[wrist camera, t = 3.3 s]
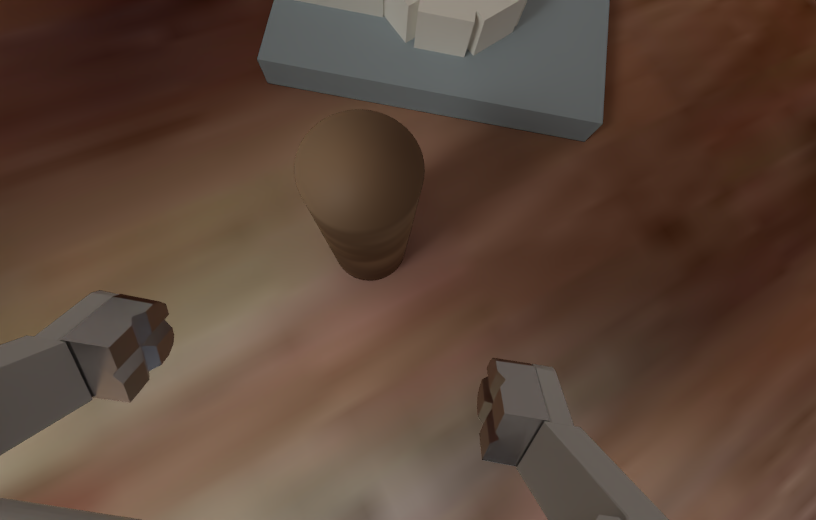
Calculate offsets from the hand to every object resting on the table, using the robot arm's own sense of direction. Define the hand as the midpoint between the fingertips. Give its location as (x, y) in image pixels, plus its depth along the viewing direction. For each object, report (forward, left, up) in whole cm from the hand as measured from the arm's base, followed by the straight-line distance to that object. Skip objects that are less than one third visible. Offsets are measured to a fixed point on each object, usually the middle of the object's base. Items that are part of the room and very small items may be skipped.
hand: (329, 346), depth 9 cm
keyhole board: (+2, +21, -11) cm, 24 cm away
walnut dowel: (0, +5, -11) cm, 12 cm away
